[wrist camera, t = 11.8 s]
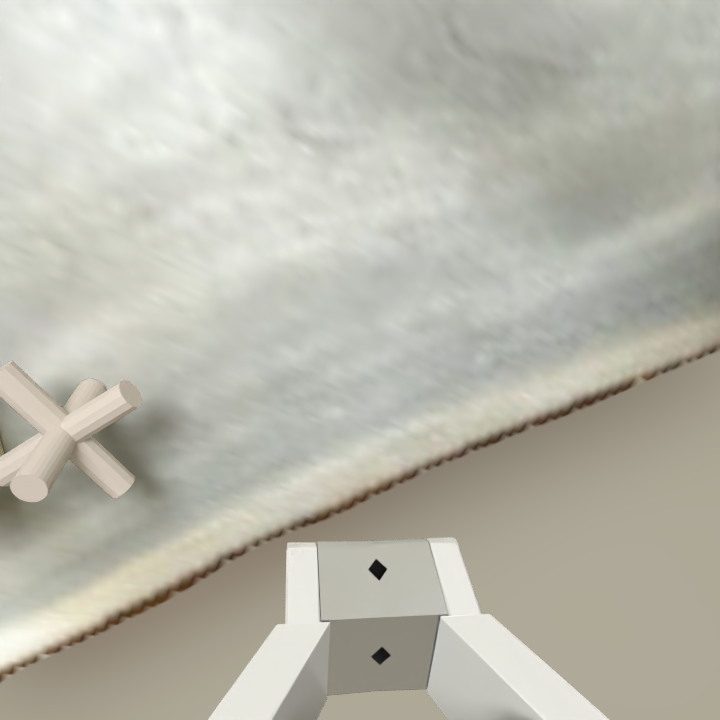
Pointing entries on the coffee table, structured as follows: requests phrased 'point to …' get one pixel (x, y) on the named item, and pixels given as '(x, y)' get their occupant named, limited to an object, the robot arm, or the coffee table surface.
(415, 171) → the coffee table surface
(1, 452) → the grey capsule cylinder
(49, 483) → the pipe connector
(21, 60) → the coffee table surface
